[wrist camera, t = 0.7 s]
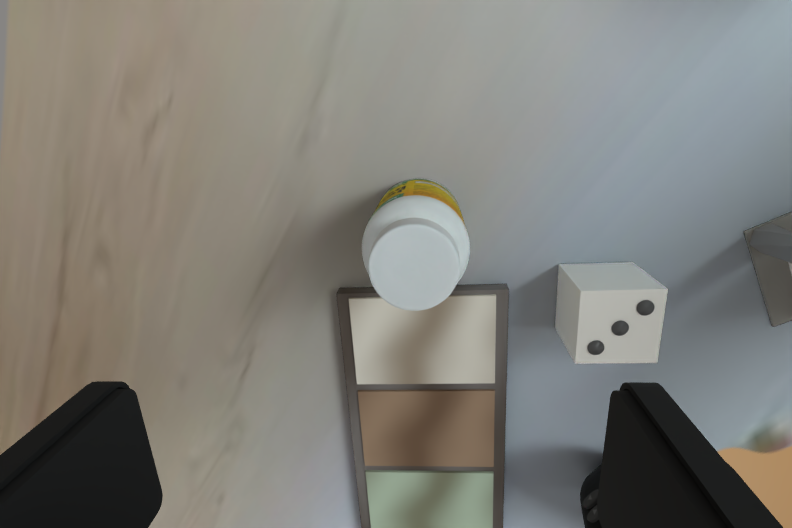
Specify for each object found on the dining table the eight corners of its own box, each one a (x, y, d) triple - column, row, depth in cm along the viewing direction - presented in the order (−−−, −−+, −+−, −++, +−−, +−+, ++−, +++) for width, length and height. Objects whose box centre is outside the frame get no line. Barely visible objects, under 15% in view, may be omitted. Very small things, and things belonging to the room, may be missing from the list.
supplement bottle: (433, 274, 30) (434, 347, 21) (361, 234, 29) (330, 291, 20) (478, 203, 28) (500, 249, 19) (402, 159, 27) (388, 185, 18)
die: (632, 261, 28) (668, 289, 24) (625, 326, 30) (657, 363, 25) (558, 264, 29) (581, 291, 24) (554, 327, 30) (575, 364, 26)
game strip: (506, 283, 29) (509, 290, 28) (500, 529, 36) (503, 542, 35) (339, 288, 30) (336, 295, 29) (364, 526, 37) (362, 539, 36)
